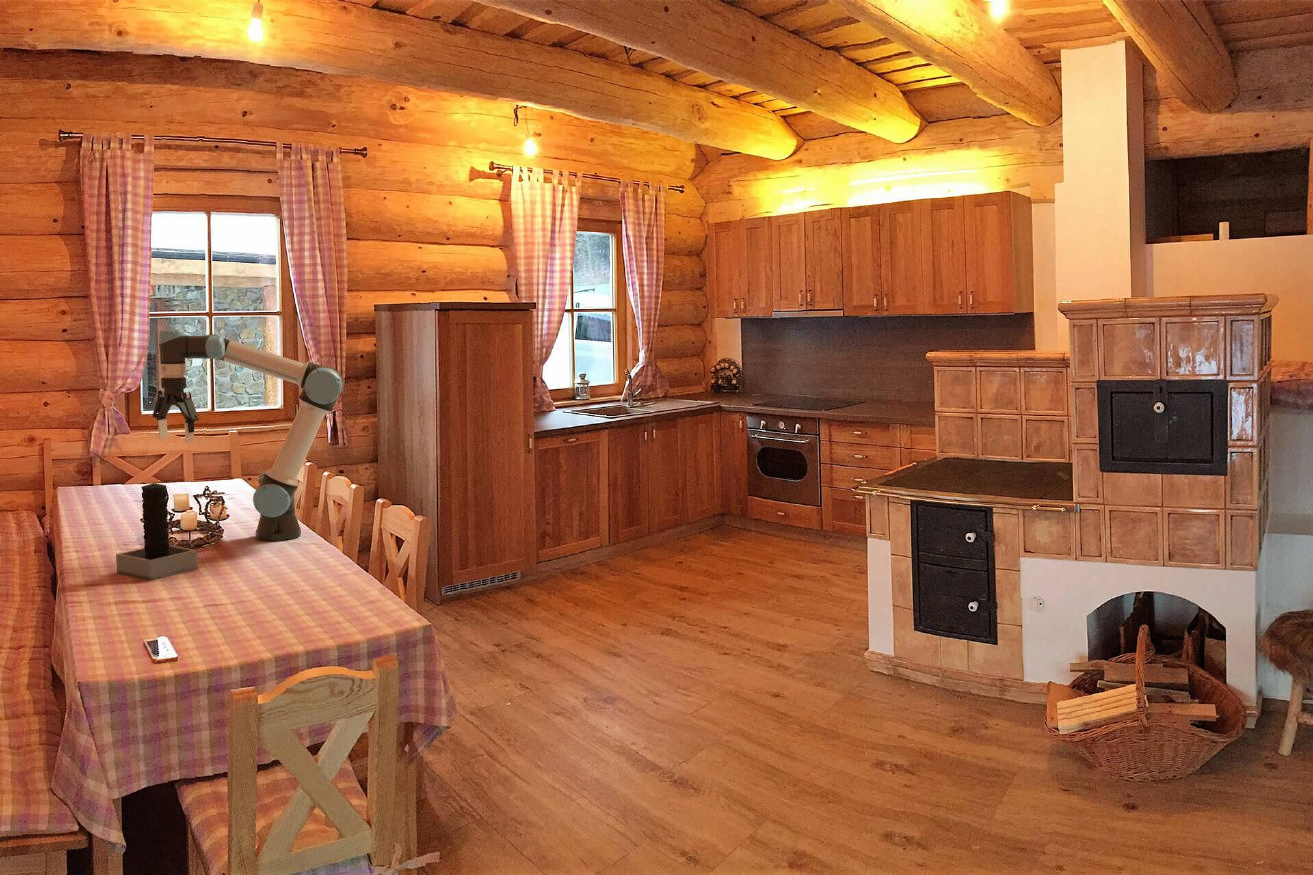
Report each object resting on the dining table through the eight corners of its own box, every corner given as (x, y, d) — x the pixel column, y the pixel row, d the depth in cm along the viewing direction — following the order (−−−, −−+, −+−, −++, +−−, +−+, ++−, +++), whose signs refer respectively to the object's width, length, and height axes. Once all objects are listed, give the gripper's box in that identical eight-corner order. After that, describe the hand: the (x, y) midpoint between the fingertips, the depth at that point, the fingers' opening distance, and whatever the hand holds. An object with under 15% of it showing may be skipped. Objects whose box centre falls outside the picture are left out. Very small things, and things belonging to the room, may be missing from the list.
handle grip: (132, 570, 307) (161, 573, 305) (127, 485, 303) (157, 486, 301) (154, 562, 316) (182, 565, 314) (150, 479, 313) (179, 481, 311)
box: (164, 562, 321) (163, 543, 320) (197, 569, 314) (196, 550, 313) (117, 573, 307) (116, 554, 307) (150, 580, 300) (149, 561, 299)
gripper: (138, 375, 334) (142, 439, 337) (188, 379, 322) (191, 444, 325) (159, 374, 340) (162, 436, 343) (208, 377, 329) (211, 442, 331)
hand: (176, 440), depth 334 cm, fingers open, 13 cm apart
